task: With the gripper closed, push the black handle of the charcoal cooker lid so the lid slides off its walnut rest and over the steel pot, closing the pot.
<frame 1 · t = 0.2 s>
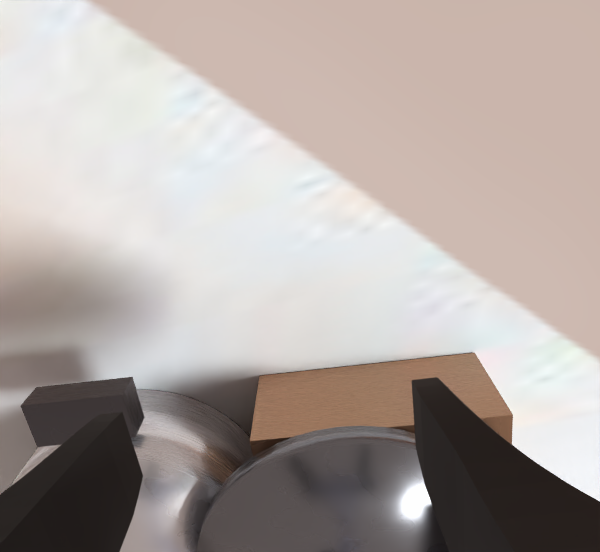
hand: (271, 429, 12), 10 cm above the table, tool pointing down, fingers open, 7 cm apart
cooker: (154, 486, 26), on the table
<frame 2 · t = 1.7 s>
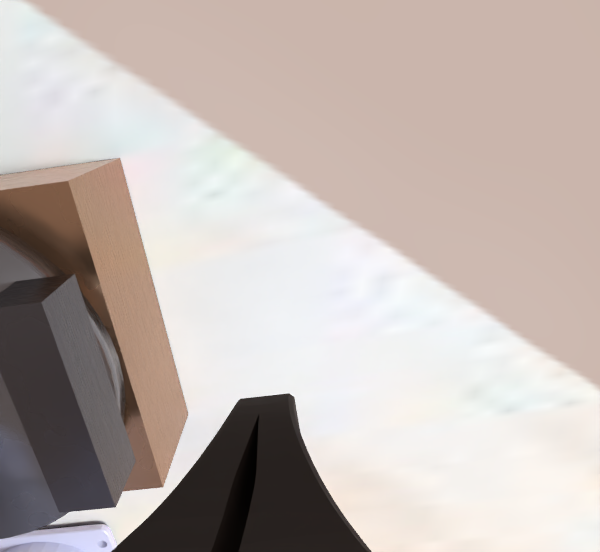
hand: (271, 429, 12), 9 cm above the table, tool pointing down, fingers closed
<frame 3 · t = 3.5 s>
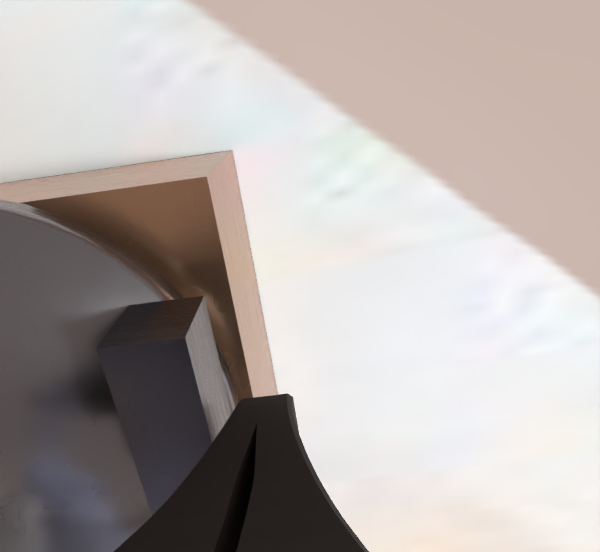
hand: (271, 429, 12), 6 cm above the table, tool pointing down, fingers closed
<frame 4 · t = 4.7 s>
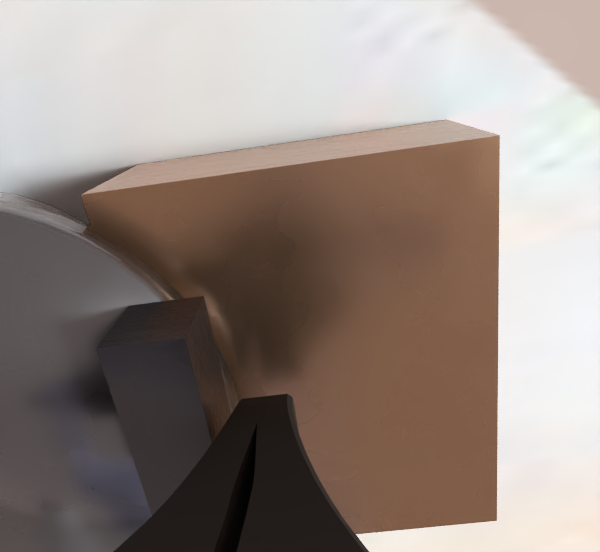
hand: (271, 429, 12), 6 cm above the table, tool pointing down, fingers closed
cooker: (12, 347, 19), on the table
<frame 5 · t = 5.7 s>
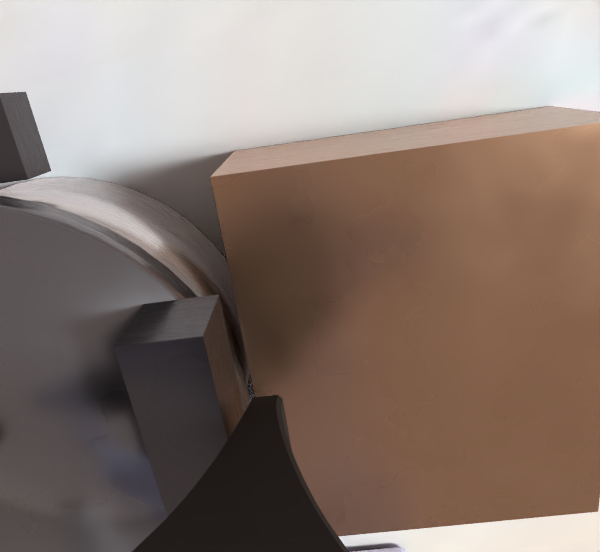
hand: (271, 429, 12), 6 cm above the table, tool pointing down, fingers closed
cooker: (93, 337, 19), on the table
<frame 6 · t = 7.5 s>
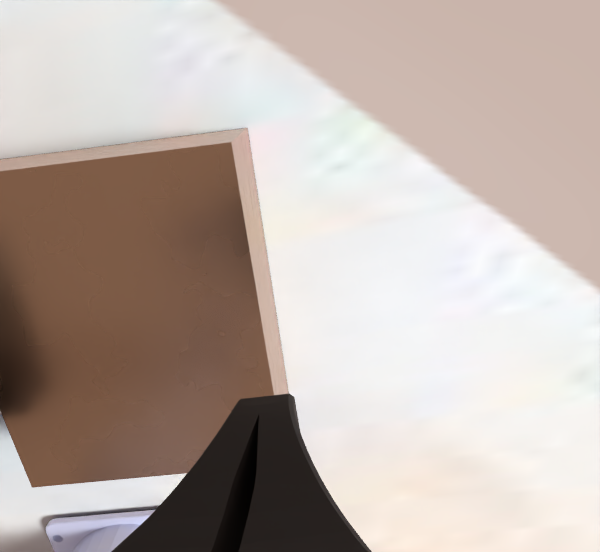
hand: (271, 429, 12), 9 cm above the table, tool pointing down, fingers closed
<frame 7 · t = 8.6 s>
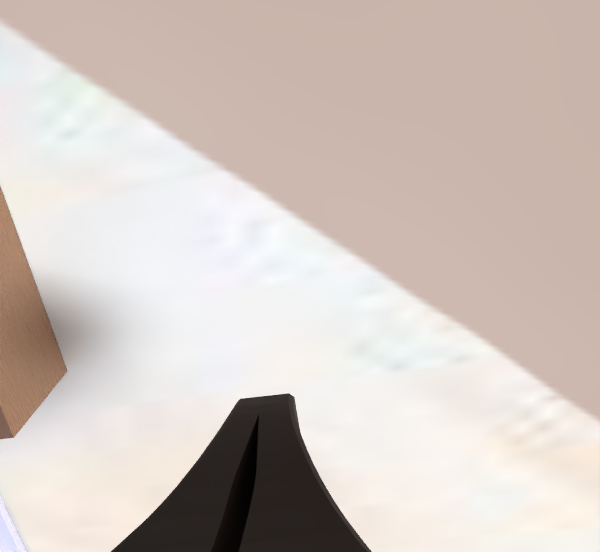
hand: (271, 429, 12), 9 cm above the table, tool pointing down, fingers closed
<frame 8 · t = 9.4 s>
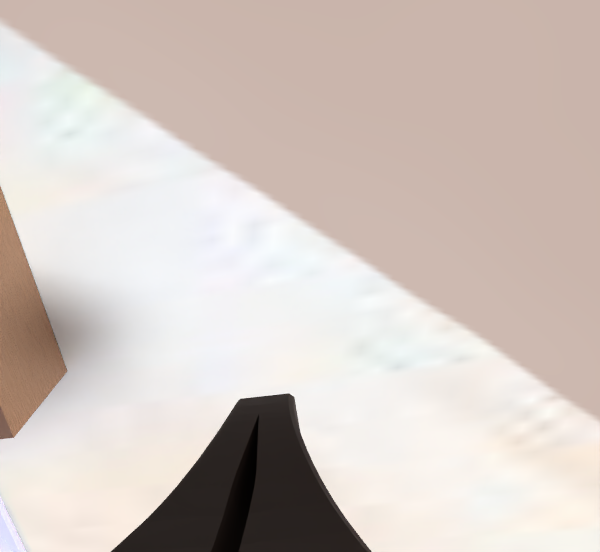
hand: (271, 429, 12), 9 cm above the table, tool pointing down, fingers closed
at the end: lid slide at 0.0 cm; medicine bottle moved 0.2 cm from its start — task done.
